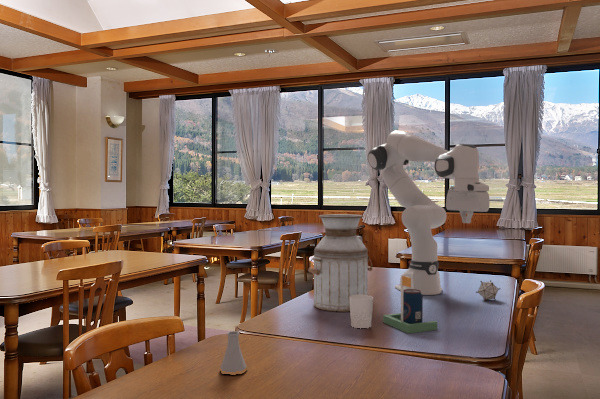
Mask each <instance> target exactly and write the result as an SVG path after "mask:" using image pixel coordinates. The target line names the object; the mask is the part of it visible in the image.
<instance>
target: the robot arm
mask: <svg viewBox="0 0 600 399" xmlns="http://www.w3.org/2000/svg"><path fill="white" fill-rule="evenodd" d="M478 149H479V148H478V147H477V146H476V145H474V144H470V143H469V144H468V143H458V144H455V146H454V147H453V149H451V150H449V149H445V148H443V147H440V146H437V145H436V144H433V143H432V142H429V141H427V140H425V139H423V138H422V137H419V136H417V135H416V134H413V133H411V132H408V131H404V130H394V131H392V132H390V133H389V134H388V135H387V139H386V142H385V143H383V144H381V145H378V146H375V147H373V148H372V149H371V150H369V152H368V155H367V161H368V164H369V166H370V167H371V168H372V169H373V170H375V171H382V172H381V177H382V180H383V182H384V184H385V185H386V187H387V189H388V191H389V192H390V193H391V195H392V196H393V197H394V199H395V200H396V202H397V203H398V204H399V205H400V206H401V207H403V208H405V209H404V210H403V211H402V213H401V222H402V224H403V226H404V227H405V228H406V229H407V232H408V234H409V238H410V242H411V260H408V263H409V266H408V268H407V270H405V272H404V271H403V273H402V274H401V275H403V276H405V277H409V278H411V287H407V286H404V285H403V290H406V289H416V290H420V291H421V294H422V296H427V295H428V296H430V295H431V296H432V295H439V294H441V293H442V291H443V287H441V286H442V285H441V277H440V272H439V271H438V269H439V265H440V263H439V259H438V242H437V241H436V239H435V238H434V235H433V233H432V229H437V228H439V227H441V226H442V225H444V224H445V223H446V221H447V218H448V217H447V212H446V210H445V208H444V207H443V206H441V205H438V204H437V203H436V202H435V201H433V200H432V199H431V198H430V197H428V196H427V195H426V194H425V193H424V192H423V191H422V190H421V189H420V188H419V187H418V186H417V185H416V183H415V182H414V181H413V179H412V178H411V177H410V175H409V174H408V173H407V172H406V170H405V168H404V166H407V165H408V164H409V162H417V163H418V162H423V163H425V162H428V163H434V167H433V168H434V171H435V174H436V175H437V176H438V177H439V178H443V179H454V181H453V182H454V184H453V185H454V186H450V187H449V188H448V190H447V194H446V201H445V202H446V203H445V207H446V209H447V211H458V212H459V215H460V217H461V222H462V223H463V224H471V223H472V218H473V215H474V212H479V213H483V212H485V213H487V212H488V211H489V209H490V193H488V192H489V190H490V186H489V185H488V184H487V183H485V182H484V183H483V182H481V181H480V176H479V169H480V156H479V150H478ZM399 280H400V281H399V284H396V285H394V289H396V290H399V291H400V292H401V277H400V278H399ZM403 292H404V291H403Z"/></svg>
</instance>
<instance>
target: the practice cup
mask: <svg viewBox="0 0 600 399" xmlns="http://www.w3.org/2000/svg"><path fill="white" fill-rule="evenodd" d="M400 278H401V291H400V312H398V313H390V314H383V315H382V323H383V322H384V324H386V325H388V326H390V327H392V326H393V327H392V328H395V329H397V330H399V331H401V332H404V333H406V334H414V333H422V332H429V331H435V330H436V331H437V330H439V328H438V321H437V320H433V321H432V320H431V321H424V322H422V323H414V324H408V323H405V322H403V285H404V286H407V287H411V278H409V277H405V276H403V275H402V274H401V275H400Z"/></svg>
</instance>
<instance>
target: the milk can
mask: <svg viewBox="0 0 600 399" xmlns="http://www.w3.org/2000/svg"><path fill="white" fill-rule="evenodd" d="M317 217H318V218H320V219H321V222H322V225H323V227H324V233H325V234H324V236H323V237H322V238H321V240H320V241H319V242H318V244H317V245H316V246H315V247H314V250H313V257H312V258H311V259H310V262H309V267H308V269H307V271H308V273H311V274H313V306H314V308H316V309H319V310H323V311H327V312H328V311H329V312H336V311H337V312H338V313H340V312H341V313H343V312H345V313H348V312H349V311H350V301H349V297H350V296H351V295H369V290H368V289H369V288H368V287H369V285H368V283H369V281H368V280H369V279H368V277H369V276H368V274H369V272H372V271H373V262H372V261H371V259H370V257H369V255H368V252H369V249H368V248H367V247H366V246H365V244H364V243H363V241H362V242H361V240H360V239H359V238H358V237H357V236H358V235H357V229H358V225H359V222H360V221H361V219H362V218H363V217H364V215H362V214H347V213H346V214H340V213H337V214H336V213H335V214H334V213H333V214H320V215H318V216H317ZM356 235H357V236H356ZM312 261H313V267H311V264H312ZM368 262H370V265H371V266H369V264H368Z"/></svg>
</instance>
